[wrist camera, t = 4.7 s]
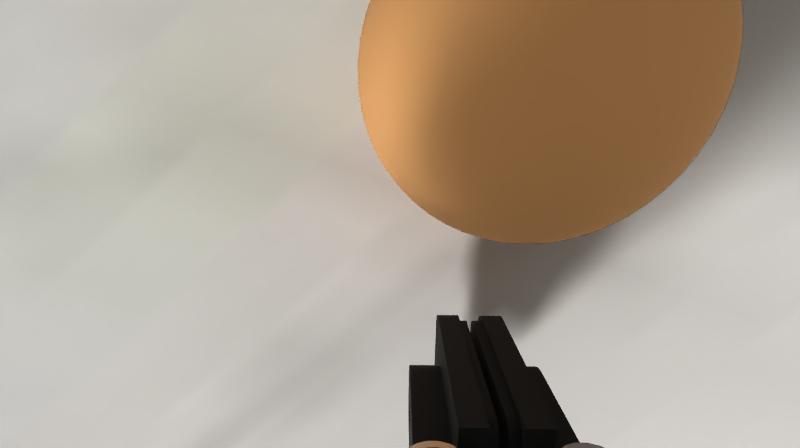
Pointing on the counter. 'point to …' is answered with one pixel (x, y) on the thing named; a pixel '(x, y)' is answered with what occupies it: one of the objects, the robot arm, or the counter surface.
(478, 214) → the ball
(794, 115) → the counter surface
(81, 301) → the counter surface
